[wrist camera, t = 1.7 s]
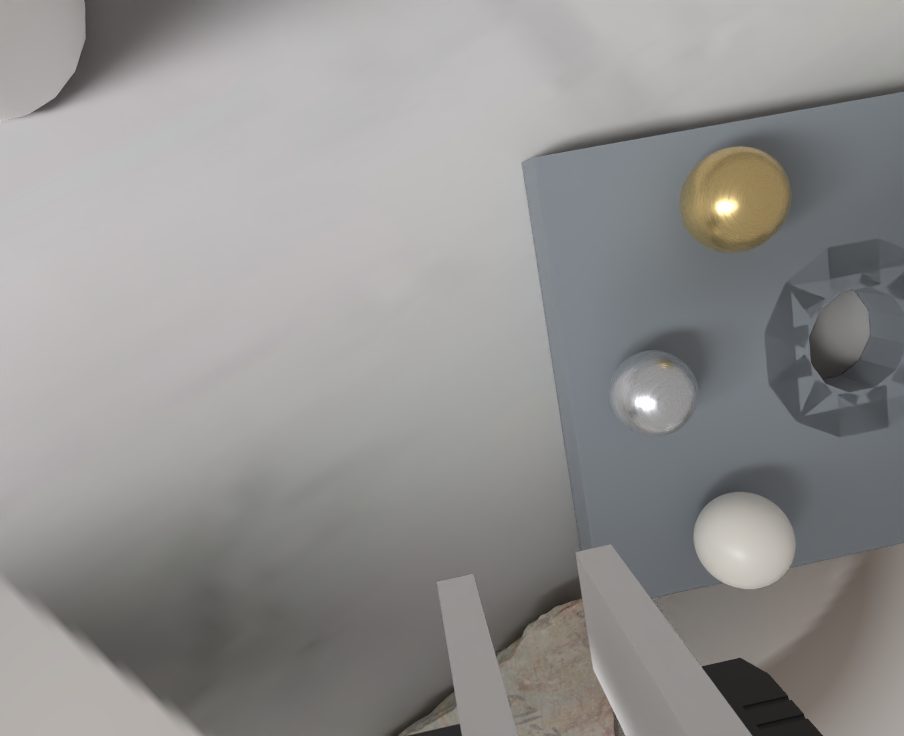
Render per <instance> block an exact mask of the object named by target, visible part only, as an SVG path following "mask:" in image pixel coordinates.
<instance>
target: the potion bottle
mask: <svg viewBox="0 0 904 736" xmlns="http://www.w3.org/2000/svg"><path fill="white" fill-rule="evenodd" d="M85 39H86V35H85V1H84V0H0V121H4V120H9V119H13V118H17V117H22V116H26V115H29V114H30V113H32V112H33V111H35V110H36V109H38V108H40V107H41V106H43V105H44V104H46V103H47V102H49V101H51V100H52V99H54V98H55V97H56V96H57V95H58V93H59V92H60V91H61V89H62V88H63V87H64V85H65V84H66V83H67V81H68V80H69V79H70V78H71V76H72V75H73V74H74V72H75V71H76V67H77V64H78V61H79V58H80V55H81V52H82V49H83V45H84V42H85Z"/></svg>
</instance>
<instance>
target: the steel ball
mask: <svg viewBox="0 0 904 736" xmlns="http://www.w3.org/2000/svg"><path fill="white" fill-rule="evenodd" d="M698 399H699V389H698V384H697V380H696V378H695V376H694V373H693V372H692V370H691V369H690V368H689V366H688V365H687V364H686V363H685V362H684V361H682V360H681V359H680V358H678V357H677V356H675V355H673V354H670V353H667V352H664V351H658V350H649V351H643V352H639V353H636V354H634V355H632V356H630V357H629V358H627V359H626V360H624V361H623V362H622V363H621V364H620V365H619V366H618V368H617V369H616V371H615V372H614V374H613V376H612V378H611V382H610V386H609V401H610V405H611V408H612V411H613V413H614V414H615V416H616V418H617V419H618V420H619V421H620V422H621V423H622V425H623V426H625V427H626V428H627V429H629V430H631V431H632V432H634V433H636V434H639V435H642V436H647V437H661V436H666V435H670V434H672V433H674V432H676V431H678V430H680V429H681V428H682V427H684V426H685V425H686V424H687V423H688V422H689V420H690V419H691V418H692V416H693V415H694V413H695V411H696V408H697V404H698Z"/></svg>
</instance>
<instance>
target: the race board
mask: <svg viewBox="0 0 904 736" xmlns="http://www.w3.org/2000/svg"><path fill="white" fill-rule="evenodd" d="M736 146H746V147H752V148H756V149H759V150H762V151H764V152H766V153H768V154H769V155H771V156H772V157H773V158H775V159H776V160H777V161H778V162H779V163H780V165H781V166H782V167H783V169H784V170H785V172H786V174H787V176H788V178H789V181H790V185H791V193H792V198H791V206H790V210H789V213H788V216H787V218H786V220H785V222H784V223H783V225H782V226H781V228H780V229H779V231H778V232H777V233H776V234H775V235H774V236H773V237H772V238H771V239H769V240H768V241H767V242H765V243H764V244H762V245H760V246H759V247H757V248H754V249H752V250H749V251H745V252H740V253H722V252H717V251H714V250H711V249H709V248H706V247H704V246H703V245H701V244H700V243H698V242H697V241H696V240H695V239H694V238H693V237H692V236H691V235H690V234H689V232H688V231H687V229H686V227H685V225H684V223H683V221H682V218H681V213H680V195H681V190H682V187H683V184H684V182H685V180H686V178H687V176H688V175H689V173H690V172H691V170H692V169H693V168H694V167H695V166H696V165H697V164H698V163H699V162H700V161H701V160H702V159H704V158H705V157H706V156H708V155H710V154H711V153H713V152H716V151H718V150H721V149H724V148H728V147H736ZM522 167H523V174H524V180H525V187H526V193H527V200H528V207H529V213H530V220H531V226H532V233H533V239H534V246H535V253H536V259H537V266H538V272H539V279H540V286H541V292H542V299H543V305H544V312H545V318H546V325H547V332H548V338H549V345H550V351H551V358H552V364H553V371H554V378H555V384H556V391H557V397H558V404H559V410H560V417H561V424H562V430H563V437H564V443H565V450H566V456H567V463H568V470H569V476H570V483H571V489H572V496H573V503H574V509H575V516H576V522H577V529H578V535H579V542H580V549H581V551H583V550H587V549H592V548H597V547H601V546H606V545H612V546H613V548H614V549H615V550H616V552H617V553H618V555H619V556H620V557H621V559H622V560H623V561H624V563H625V564H626V565H627V567H628V568H629V569H630V571H631V572H632V574H633V575H634V576H635V578H636V579H637V580H638V582H639V583H640V584H641V586H642V587H643V588H644V590H645V591H646V592H647V594H648V595H649V597H650V598H654V597H659V596H664V595H668V594H673V593H677V592H682V591H686V590H691V589H695V588H700V587H705V586H709V585H714V584H718V583H723V582H721V581H719V580H718V579H716V578H715V577H714V576H712V575H711V574H710V573H709V572H708V571H707V570H706V568H705V567H704V566H703V564H702V563H701V561H700V559H699V558H698V555H697V553H696V550H695V546H694V538H693V534H694V527H695V523H696V520H697V518H698V516H699V514H700V512H701V511H702V509H703V508H704V507H705V506H706V505H707V504H708V503H709V502H710V501H712V500H713V499H715V498H717V497H718V496H721V495H723V494H727V493H731V492H750V493H754V494H757V495H760V496H762V497H765V498H767V499H768V500H770V501H772V502H773V503H774V504H775V505H777V506H778V507H779V508H780V509H781V510H782V511H783V512H784V514H785V515H786V516H787V518H788V519H789V521H790V523H791V525H792V528H793V531H794V535H795V541H796V547H795V554H794V558H793V561H792V563H791V565H790V567H789V568H791V567H796V566H800V565H805V564H809V563H814V562H819V561H823V560H828V559H832V558H837V557H841V556H846V555H850V554H855V553H860V552H864V551H869V550H873V549H878V548H882V547H886V546H891V545H896V544H900V543H904V92H899V93H893V94H887V95H882V96H876V97H871V98H865V99H859V100H854V101H848V102H842V103H837V104H831V105H826V106H820V107H814V108H809V109H803V110H797V111H792V112H786V113H780V114H775V115H769V116H764V117H758V118H752V119H747V120H741V121H735V122H730V123H724V124H718V125H713V126H707V127H702V128H696V129H690V130H685V131H679V132H673V133H668V134H662V135H656V136H651V137H645V138H640V139H634V140H628V141H623V142H617V143H611V144H606V145H600V146H595V147H589V148H583V149H578V150H572V151H566V152H561V153H555V154H549V155H544V156H538V157H533V158H531V159H529V160H527V161H525V162H523V163H522ZM851 290H853V291H855V292H856V293H857V294H858V296H859V297H860V299H861V300H862V302H863V303H864V305H865V306H866V307H867V309H868V310H869V322H870V338H869V340H868V342H867V344H866V347H865V349H864V351H863V353H862V355H861V358H860V360H859V361H857V362H856V363H855V364H854V365H852V366H851V367H850V368H849V369H848V370H846V371H845V372H844V373H843V374H842V375H840V376H837V377H832V378H827V379H822V378H821V377H820V375H819V374H818V372H817V371H816V370H815V368H814V367H813V366H812V364H811V357H810V344H809V335H810V333H811V331H812V328H813V326H814V324H815V322H816V319H817V317H818V315H819V312H820V310H821V309H823V308H824V307H825V306H826V305H827V304H829V303H830V302H831V301H832V300H834V299H835V298H836V297H837V296H838V295H840V294H841V293H842V292H845V291H851ZM649 350H658V351H664V352H667V353H670V354H673V355H675V356H677V357H678V358H680V359H681V360H682V361H684V362H685V363H686V364H687V365H688V366H689V368H690V369H691V370H692V372H693V373H694V376H695V378H696V380H697V384H698V389H699V399H698V404H697V408H696V411H695V413H694V415H693V416H692V418H691V419H690V420H689V422H688V423H687V424H686V425H685V426H684V427H682V428H681V429H680V430H678V431H676V432H674V433H672V434H670V435H666V436H661V437H647V436H642V435H639V434H636V433H634V432H632V431H631V430H629V429H627V428H626V427H625V426H623V425H622V423H621V422H620V421H619V420H618V419H617V418H616V416H615V414H614V413H613V411H612V408H611V405H610V401H609V386H610V382H611V378H612V376H613V374H614V372H615V371H616V369H617V368H618V366H619V365H620V364H621V363H622V362H623V361H624V360H626V359H627V358H629V357H630V356H632V355H634V354H636V353H639V352H643V351H649Z"/></svg>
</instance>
